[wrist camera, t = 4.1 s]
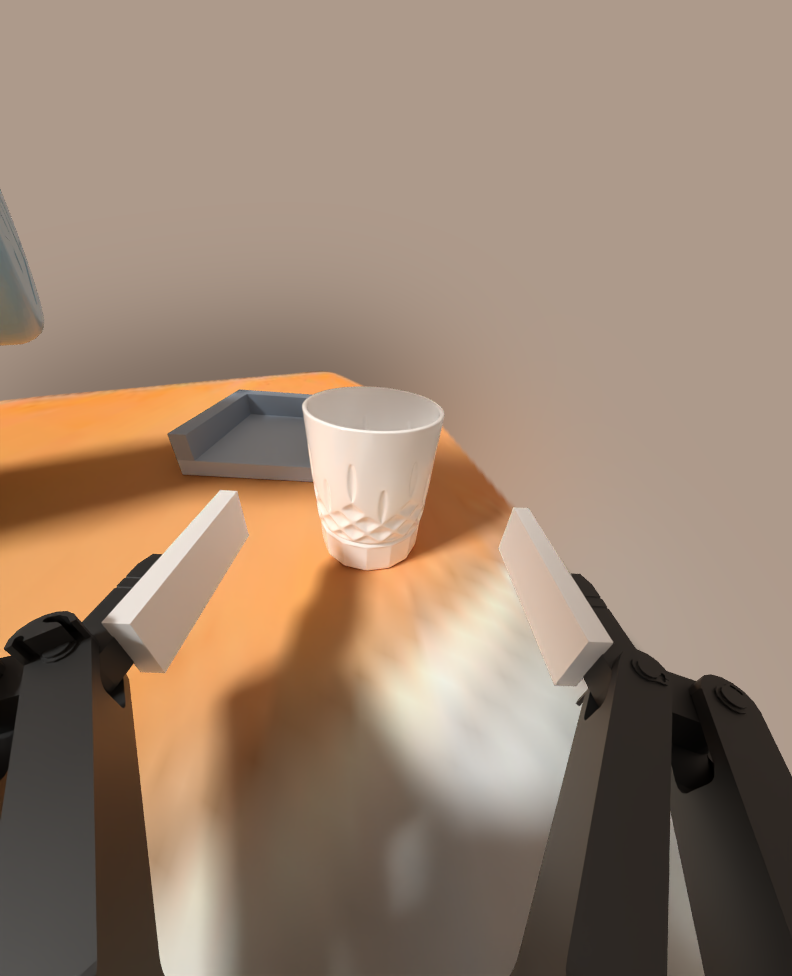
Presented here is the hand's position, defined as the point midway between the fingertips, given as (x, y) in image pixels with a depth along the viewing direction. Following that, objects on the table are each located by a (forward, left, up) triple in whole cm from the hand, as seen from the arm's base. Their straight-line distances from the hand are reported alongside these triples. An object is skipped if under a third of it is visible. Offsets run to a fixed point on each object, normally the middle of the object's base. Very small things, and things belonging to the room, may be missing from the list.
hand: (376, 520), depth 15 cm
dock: (-14, +17, -6) cm, 23 cm away
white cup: (-1, +5, -6) cm, 8 cm away
